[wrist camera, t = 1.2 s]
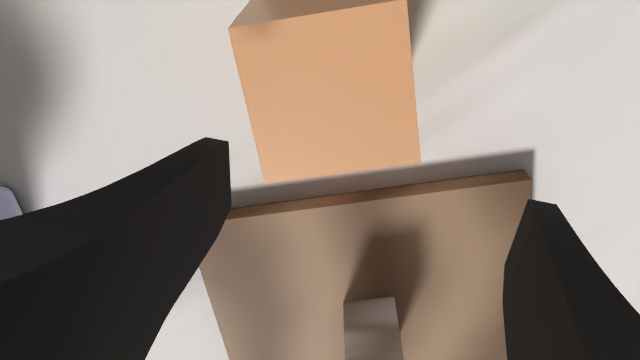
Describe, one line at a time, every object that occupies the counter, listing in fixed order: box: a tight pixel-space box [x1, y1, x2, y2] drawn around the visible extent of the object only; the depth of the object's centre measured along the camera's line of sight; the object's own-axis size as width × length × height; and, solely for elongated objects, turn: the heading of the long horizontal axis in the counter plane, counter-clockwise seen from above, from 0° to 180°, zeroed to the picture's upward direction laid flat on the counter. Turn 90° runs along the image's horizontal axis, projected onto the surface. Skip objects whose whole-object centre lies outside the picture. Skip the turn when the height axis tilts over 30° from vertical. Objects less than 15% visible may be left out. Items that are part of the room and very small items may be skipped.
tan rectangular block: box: [228, 0, 421, 184], centre depth 20 cm, size 5×5×7 cm
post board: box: [199, 170, 532, 360], centre depth 26 cm, size 16×14×6 cm
